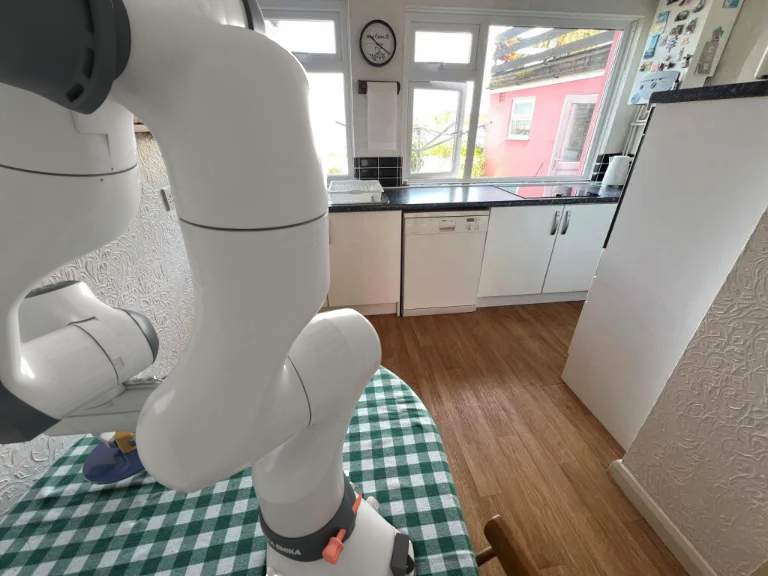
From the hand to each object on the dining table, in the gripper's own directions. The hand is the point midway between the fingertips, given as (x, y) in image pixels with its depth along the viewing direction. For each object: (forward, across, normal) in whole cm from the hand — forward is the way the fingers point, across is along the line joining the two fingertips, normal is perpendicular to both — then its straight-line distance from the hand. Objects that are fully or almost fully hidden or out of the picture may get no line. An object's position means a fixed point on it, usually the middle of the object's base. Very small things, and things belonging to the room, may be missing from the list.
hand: (128, 443), depth 54 cm
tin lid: (+1, 0, 0) cm, 1 cm away
